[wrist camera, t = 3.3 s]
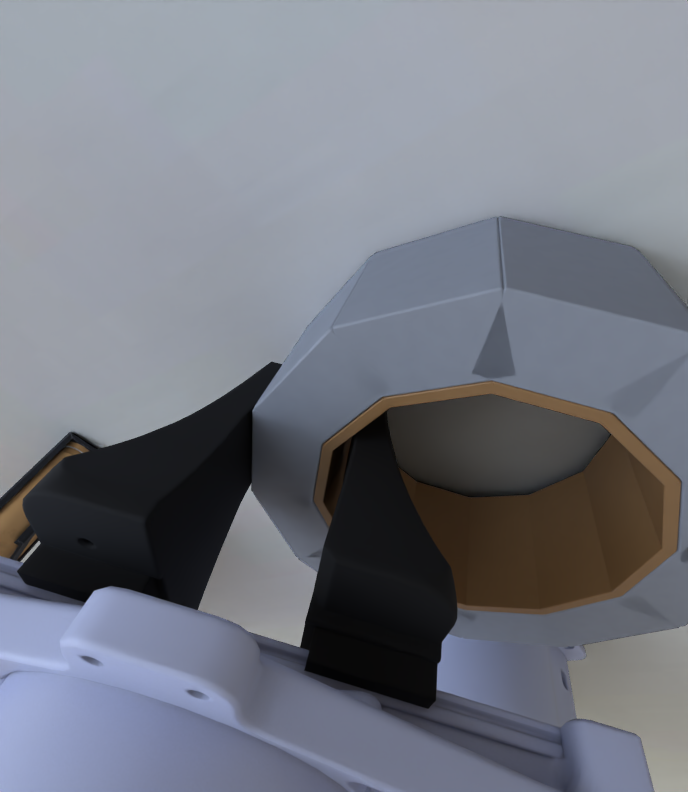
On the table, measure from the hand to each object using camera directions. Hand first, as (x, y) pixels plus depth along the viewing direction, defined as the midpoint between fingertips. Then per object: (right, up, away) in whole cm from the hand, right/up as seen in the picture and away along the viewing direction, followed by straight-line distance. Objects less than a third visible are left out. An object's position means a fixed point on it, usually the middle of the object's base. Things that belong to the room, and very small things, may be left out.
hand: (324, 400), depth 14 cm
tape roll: (+5, -1, +1) cm, 5 cm away
